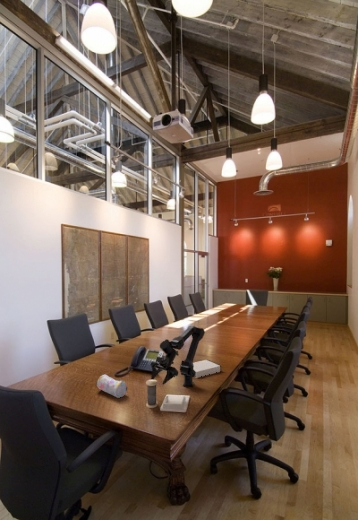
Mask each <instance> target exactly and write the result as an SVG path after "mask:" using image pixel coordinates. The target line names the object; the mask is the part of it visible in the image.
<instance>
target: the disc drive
mask: <svg viewBox="0 0 358 520" xmlns="http://www.w3.org/2000/svg"><path fill="white" fill-rule="evenodd" d="M193 365H194V368H193V369H194V371H195V372H196V375H195V377H194V378H195V379H198V378H202V377H206V376H210V375H213V374H217V373H221V372H222V365H220V364H218V363H217V362H214V361H212V360H210V359H203V360H199V361H195V362H194V361H193ZM220 371H221V372H220ZM216 372H217V373H216ZM209 374H210V375H209ZM205 375H206V376H205ZM201 376H202V377H201Z"/></svg>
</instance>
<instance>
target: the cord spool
mask: <svg viewBox="0 0 358 520" xmlns="http://www.w3.org/2000/svg"><path fill="white" fill-rule="evenodd" d="M145 385H146V386H147V387H146V388H147V394H146V395H147V402H146V406H145V407H146V408H148V409H155V408H157V407H158V404H159V403H158V401H157V385H158V380H156V379H153V380H151V379H148V380H146V381H145Z"/></svg>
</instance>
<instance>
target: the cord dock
mask: <svg viewBox="0 0 358 520" xmlns="http://www.w3.org/2000/svg"><path fill="white" fill-rule="evenodd" d="M190 397H191V396H190V395H187V394H185V395H181V394H180V395H179V394H166V395H165V397H164V399H163V402H162V404H161V405H160V408H159V409H160V412H175V413H176V412H178V413H186V412H187V409H188V405H189V402H190Z"/></svg>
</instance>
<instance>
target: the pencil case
mask: <svg viewBox="0 0 358 520" xmlns="http://www.w3.org/2000/svg"><path fill="white" fill-rule="evenodd" d="M96 387H97V388H98V389H99V390H101V391H103V392H104V393H106V394H108V395H111V396H113V397H115V398H118V399H120V397H121V398H122V397H124V396H125V395H126V393H127V391H128V386H127V384H126V382H125V381H124V380H122V379H121V380H116V379H114V378H113V377H111V376H109V375H107V374H103V375H100V376H99V377H98V379H97V383H96Z"/></svg>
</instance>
